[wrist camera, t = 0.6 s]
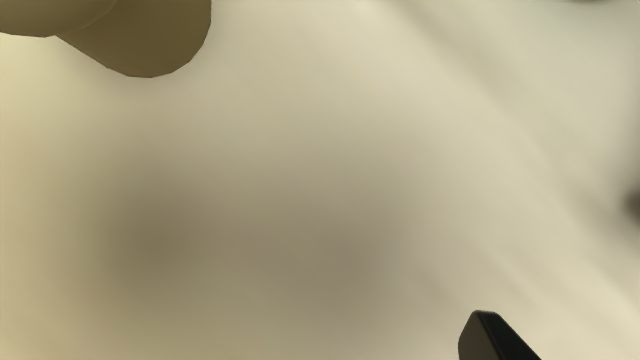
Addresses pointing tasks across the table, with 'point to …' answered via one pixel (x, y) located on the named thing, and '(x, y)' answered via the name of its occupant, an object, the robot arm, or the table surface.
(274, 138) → the table surface
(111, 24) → the olive pawn
